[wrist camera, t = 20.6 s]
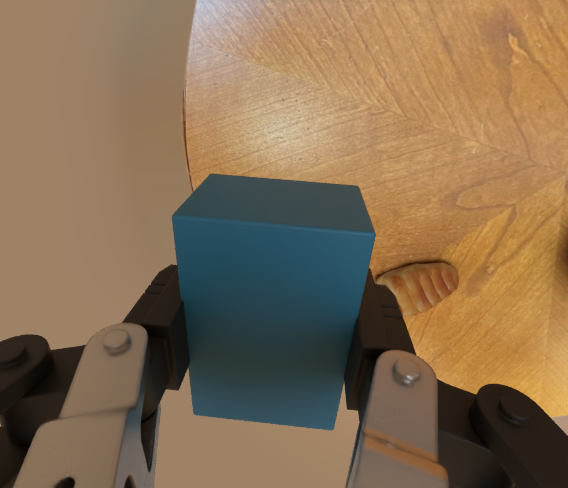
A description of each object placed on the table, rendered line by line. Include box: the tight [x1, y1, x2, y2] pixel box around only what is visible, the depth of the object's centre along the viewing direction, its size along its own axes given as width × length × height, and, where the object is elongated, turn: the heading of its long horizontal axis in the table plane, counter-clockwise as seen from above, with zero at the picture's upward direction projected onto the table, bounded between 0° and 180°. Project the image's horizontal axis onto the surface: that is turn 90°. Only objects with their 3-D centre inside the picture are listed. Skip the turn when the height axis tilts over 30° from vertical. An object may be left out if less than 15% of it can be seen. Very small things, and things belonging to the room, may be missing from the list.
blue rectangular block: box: [172, 174, 376, 430], centre depth 10 cm, size 7×4×3 cm, turn 176°
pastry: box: [376, 262, 459, 317], centre depth 41 cm, size 9×7×4 cm
